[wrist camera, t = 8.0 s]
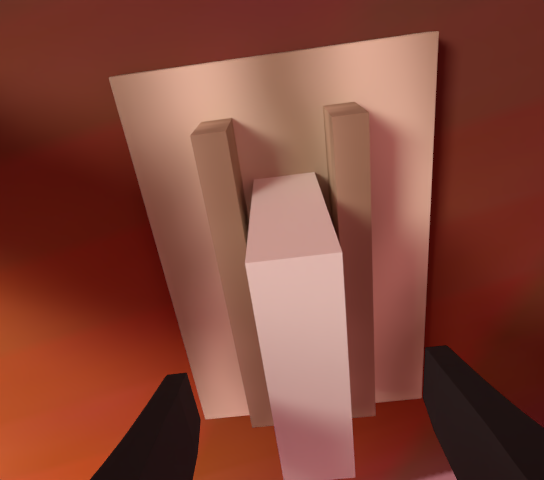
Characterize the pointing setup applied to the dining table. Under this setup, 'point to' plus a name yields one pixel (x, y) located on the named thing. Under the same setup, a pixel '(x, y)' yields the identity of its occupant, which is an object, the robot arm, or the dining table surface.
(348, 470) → the pale pink flat block
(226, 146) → the notched stand
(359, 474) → the dining table surface
